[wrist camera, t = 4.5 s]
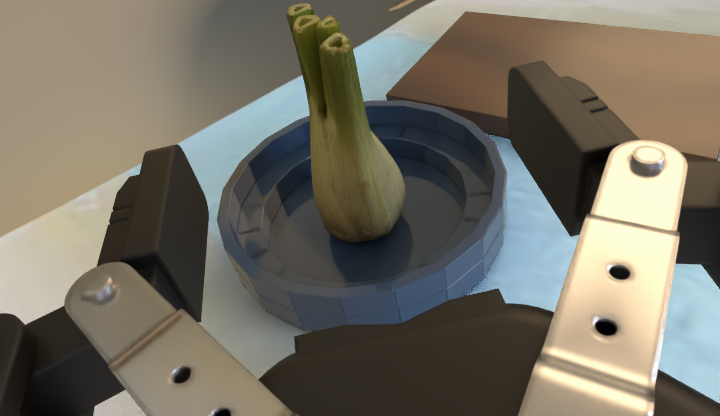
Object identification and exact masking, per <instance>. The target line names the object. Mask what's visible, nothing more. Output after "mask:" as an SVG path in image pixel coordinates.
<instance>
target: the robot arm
mask: <svg viewBox="0 0 720 416" xmlns="http://www.w3.org/2000/svg"><path fill="white" fill-rule="evenodd" d="M507 128H508V134H509V138H510V141H511V143H512V146H513V147H514V149H515V151H516V152H517V154H518V155H519V157H520V158H521V160H522V162H523V163H524V165H525V166H526V168H527V169H528V171H529V172H530V174H531V176H532V177H533V179H534V180H535V182H536V183H537V185H538V187H539V188H540V190H541V191H542V193H543V194H544V196H545V197H546V199H547V201H548V202H549V204H550V205H551V207H552V208H553V210H554V212H555V213H556V215H557V216H558V218H559V219H560V221H561V222H562V224H563V226H564V227H565V229H566V230H567V232H568V233H569V235H570V237H571V236H575V235H580V236H579V239H578V242H577V245H576V248H575V251H574V254H573V257H572V260H571V263H570V266H569V269H568V272H567V275H566V278H565V281H564V285H563V288H562V291H561V294H560V297H559V300H558V303H557V306H556V309H555V312H552V311H549V310H545V309H542V308H539V307H534V306H529V305H523V304H505V302H504V299H503V297H502V295H501V293H500V291H499V289H494V290H490V291H486V292H482V293H477V294H473V295H469V296H465V297H460V298H456V299H452V300H448V301H446V302H444V303H442V304H440V305H438V306H436V307H434V308H432V309H429V310H427V311H425V312H423V313H421V314H419V315H417V316H415V317H413V318H411V319H409V320H407V321H405V322H402V323H399V324H357V325H341V326H337V327H332V328H328V329H324V330H319V331H315V332H311V333H307V334H302V335H298V336H294V339H295V351H296V353H294V354H292V355H290V356H288V357H286V358H285V359H283V360H281V361H280V362H278V363H277V364H276V365H274V366H273V367H272V368H270V369H269V370H268V371H267V372H266V373H265V374H264V375H263V376H262V377H261V378H260V379H257V378H255V377H254V376H253V375H252V374H251V373H250V372H249V371H248V370H247V369H246V368H245V367H244V366H243V365H242V364H241V363H240V362H239V361H237V360H236V359H235V358H234V357H233V356H232V355H231V354H230V353H229V352H228V351H227V350H226V349H225V348H224V347H223V346H222V345H221V344H220V343H218V342H217V341H216V340H215V339H214V338H213V337H212V336H211V335H210V334H209V333H208V332H207V331H206V330H205V329H204V328H203V327H202V326H200V325H199V324H198V322H201V313H202V300H203V287H204V273H205V260H206V247H207V234H208V221H209V212H208V206H207V201H206V198H205V195H204V193H203V191H202V188H201V186H200V184H199V182H198V180H197V178H196V176H195V174H194V172H193V170H192V168H191V166H190V164H189V162H188V160H187V158H186V156H185V154H184V152H183V150H182V148H181V147H180V146H179V145H177V144H176V145H172V146H167V147H163V148H160V149H155V150H150V151H147V152H145V155H144V158H143V162H142V166H141V170H140V175H135V176H131V177H129V178H128V180H127V181H126V182H125V183H124V185H123V186H122V187H121V189H120V190H119V191H118V192H117V195H116V199H115V202H114V206H113V212H112V213H111V217H110V220H109V222H110V225H108V228H107V231H106V235H105V238H104V242H103V246H102V249H101V253H100V256H99V260H98V264H97V267H95V268H93V269H91V270H90V271H88V272H86V273H85V274H84V275H82V276H81V277H80V278H79V279H78V280H77V281H76V282H75V283H74V284H73V285H72V286H71V288H70V289H69V291H68V293H67V295H66V298H65V304H64V306H63V307H61V308H59V309H57V310H55V311H53V312H51V313H49V314H47V315H45V316H43V317H41V318H38V319H36V320H34V321H32V322H30V323H28V324H26V325H25V324H24V323H23V322H22V321H21V320H20V319H19V318H18V317H16V316H15V315H12V314H7V313H3V314H0V416H93V413H94V407H95V406H96V405H98V404H100V403H101V402H103V401H105V400H107V399H109V398H111V397H113V396H114V395H116V394H118V393H120V392H122V391H124V390H127V392H128V393H129V394H130V395H131V397H132V398H133V399H134V400H135V402H136V403H137V404H138V405H139V407H140V408H141V409H142V410H143V412H144V413H145V414H146V415H147V416H720V404H719V403H718V402H716V401H714V400H712V399H710V398H709V397H707V396H705V395H703V394H701V393H700V392H698V391H696V390H694V389H693V388H691V387H689V386H687V385H685V384H684V383H682V382H680V381H678V380H676V379H675V378H673V377H671V376H669V375H668V374H666V373H664V372H662V371H660V370H659V369H658V364H659V358H660V352H661V346H662V340H663V334H664V328H665V322H666V316H667V310H668V304H669V298H670V292H671V286H672V280H673V274H674V268H675V264H701V265H702V266H703V267H704V269H705V270H706V271H707V273H708V274H709V275H710V277H711V278H712V279H713V281H714V282H715V283H716V285H717V286H718V287H719V289H720V161H687V160H686V159H685V157H684V156H683V155H682V153H681V152H679V151H678V150H677V149H675V148H673V147H671V146H669V145H667V144H664V143H661V142H656V141H650V140H640V139H639V138H638V137H637V136H636V135H635V134H634V133H633V132H632V131H631V130H630V129H629V128H628V127H627V126H626V125H625V123H624V122H623V121H622V120H621V119H620V118H619V117H618V116H617V115H616V114H615V113H614V112H613V111H612V110H611V109H608V106H607V105H606V104H605V103H604V102H603V101H602V100H601V99H599V96H598V95H597V94H596V93H595V92H594V91H593V90H592V89H591V88H590V87H589V86H588V85H587V84H585V83H583V82H581V81H579V80H576V79H574V78H572V77H570V76H565V77H560V78H559V77H558V75H557V74H556V73H555V72H554V71H553V70H552V69H551V68H550V67H549V65H548V64H547V63H546V62H545V61H543V60H541V61H537V62H532V63H528V64H524V65H519V66H515V67H512V68H510V70H509V73H508V101H507Z"/></svg>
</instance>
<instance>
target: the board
mask: <svg viewBox="0 0 720 416" xmlns="http://www.w3.org/2000/svg"><path fill="white" fill-rule="evenodd" d="M541 60H543V61H545V62H546V63H547V64H548V65H549V67H550V68H551V69H552V70H553V71H554V72H555V73H556V74H557V75H558V77H559V78H560V77H565V76H570V77H572V78H574V79H576V80H579V81H581V82H583V83H585V84H587V85H588V86H589V87H590V88H591V89H592V90H593V91H594V92H595V93H596V94H597V95H598V96H599V99H601V100H602V101H603V102H604V103H605V104H606V105H607V106H608V109H611V110H612V111H613V112H614V113H615V114H616V115H617V116H618V117H619V118H620V119H621V120H622V121H623V122H624V123H625V125H626V126H627V127H628V128H629V129H630V130H631V131H632V132H633V133H634V134H635V135H636V136H637V137H638V138H639V139H640V140H650V141H656V142H661V143H664V144H667V145H669V146H671V147H673V148H675V149H677V150H678V151H679V152H681V153H682V155H683V156H684V157H685V159H686V160H687V161H717V160H718V156H719V153H720V37H719V36H709V35H699V34H689V33H679V32H669V31H658V30H648V29H638V28H628V27H618V26H608V25H598V24H588V23H578V22H567V21H557V20H547V19H537V18H527V17H517V16H507V15H497V14H487V13H476V12H465V13H464V14H463V15H462V16H461V17H460V18H459V19H458V20H457V21H456V22H455V23H454V24H453V25H452V26H451V27H450V28H449V29H448V30H447V32H446V33H445V34H444V35H443V36H442V37H441V38H440V39H439V40H438V41H437V42H436V43H435V44H434V45H433V46H432V47H431V48H430V49H429V50H428V51H427V52H426V53H425V54H424V55H423V56H422V58H421V59H420V60H419V61H418V62H417V63H416V64H415V65H414V66H413V67H412V68H411V69H410V70H409V71H408V72H407V73H406V74H405V75H404V76H403V77H402V78H401V79H400V80H399V81H398V82H397V84H396V85H395V86H394V87H393V88H392V89H391V90H390V91H389V92H388V93H387V94H386V98H387V101H412V102H417V103H422V104H427V105H432V106H437V107H442V108H444V109H446V110H449V111H451V112H453V113H455V114H457V115H459V116H461V117H464V118H466V119H468V120H470V121H472V122H473V123H475V124H476V125H477V126H478V127H479V128H480V129H481V130H482V131H483V132H484V133H489V134H493V135H498V136H503V137H507V138H509V134H508V128H507V101H508V73H509V70H510V68H512V67H515V66H519V65H524V64H528V63H532V62H537V61H541Z"/></svg>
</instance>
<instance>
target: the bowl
mask: <svg viewBox="0 0 720 416" xmlns="http://www.w3.org/2000/svg"><path fill="white" fill-rule="evenodd" d="M364 106H365V112H366V116H367V120H368V124H369V127H370V131H372V132H373V134H374V135H375V136H376V137H377V138H378V139H379V141H380V142H381V143H382V144H383V146H384V147H385V148H386V149H387V151H388V152H389V154H390V155H391V157H392V158H393V160H394V161H395V163H396V164H397V166H398V168H399V170H400V172H401V174H402V177H403V180H404V184H405V190H406V199H405V205H404V208H403V212H402V214H401V216H400V218H399V220H398V221H397V222H396V223H395V225H394V227H393V229H392V230H391V232H390V233H389V234H387V235H385V236H383V237H381V238H379V239H376V240H371V241H362V242H359V243H351V242H344V241H340V240H338V239H337V238H335V237H333V236H332V235H331V234H330V233H329V232H328V231H327V230H326V229H325V227H324V224H323V219H322V218H321V216H320V213H319V211H318V209H317V206H316V202H315V199H314V193H313V184H312V173H311V146H310V116H307V117H305V118H302V119H299V120H297V121H295V122H293V123H292V124H290V125H288V126H286V127H285V128H283V129H281V130H279V131H278V132H276V133H274V134H273V135H271V136H269V137H267V138H266V139H265V140H264V141H262V142H261V143H260V144H259V145H258V146H257V147H256V148H255V149H254V150H253V151H251V152H250V153H249V154H248V155H247V156H246V157H245V158H244V159H243V160H242V161H241V162H240V163H239V165H238V166H237V168H236V169H235V171H234V173H233V174H232V176H231V177H230V179H229V180H228V182H227V184H226V185H225V187H224V188H223V191H222V196H221V201H220V206H219V211H218V216H217V222H218V226H219V230H220V234H221V237H222V241H223V245H224V248H225V251H226V253H227V255H228V256H229V258H230V260H231V262H232V264H233V266H234V268H235V270H236V272H237V274H238V276H239V278H240V280H241V282H242V284H243V286H244V287H245V288H246V289H247V290H248V291H249V292H250V293H251V295H252V296H253V297H254V298H255V299H256V300H257V301H258V303H259V304H260V305H261V306H262V307H263V308H264V309H265V310H266V311H267V312H269V313H271V314H273V315H275V316H278V317H280V318H282V319H284V320H286V321H288V322H290V323H292V324H294V325H296V326H298V327H300V328H302V329H305V330H313V331H319V330H324V329H328V328H332V327H337V326H341V325H357V324H399V323H402V322H405V321H407V320H409V319H411V318H413V317H415V316H417V315H419V314H421V313H423V312H425V311H427V310H429V309H432V308H434V307H436V306H438V305H440V304H442V303H444V302H446V301H448V300H452V299H456V298H460V297H462V296H463V295H464V294H466V293H467V292H468V291H469V290H470V289H471V288H473V287H474V286H475V285H476V284H477V283H479V282H480V281H481V280H482V279H483V278H484V276H485V275H486V273H487V271H488V269H489V268H490V266H491V264H492V262H493V261H494V259H495V257H496V255H497V254H498V252H499V250H500V248H501V247H502V244H503V238H504V228H505V218H506V192H507V171H506V169H505V166H504V164H503V161H502V159H501V156H500V154H499V151H498V149H497V146H496V144H495V143H494V142H493V141H492V140H491V139H490V138H489V137H488V136H487V135H486V134H485V133H484V132H483V131H482V130H481V129H480V128H479V127H478V126H477V125H476V124H475V123H473V122H472V121H470V120H468V119H466V118H464V117H461V116H459V115H457V114H455V113H453V112H451V111H449V110H446V109H444V108H442V107H437V106H432V105H427V104H422V103H417V102H412V101H366V102H364Z"/></svg>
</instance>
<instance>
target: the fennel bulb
mask: <svg viewBox="0 0 720 416" xmlns="http://www.w3.org/2000/svg"><path fill="white" fill-rule="evenodd" d="M287 18H288V22H289V26H290V29H291V32H292V36H293V40H294V43H295V46H296V50H297V54H298V58H299V62H300V66H301V71H302V75H303V79H304V83H305V88H306V92H307V99H308V104H309V111H310V146H311V173H312V184H313V193H314V199H315V202H316V206H317V209H318V211H319V213H320V216H321V218H322V219H323V224H324V227H325V229H326V230H327V231H328V232H329V233H330V234H331V235H332V236H333V237H335V238H337V239H338V240H340V241H344V242H351V243H359V242H362V241H371V240H376V239H379V238H381V237H383V236H385V235H387V234H389V233H390V232H391V230H392V229H393V227H394V225H395V223H396V222H397V221H398V220H399V218H400V216H401V214H402V212H403V208H404V205H405V199H406V190H405V184H404V180H403V177H402V174H401V172H400V170H399V168H398V166H397V164H396V163H395V161H394V160H393V158H392V157H391V155H390V154H389V152H388V151H387V149H386V148H385V147H384V146H383V144H382V143H381V142H380V141H379V139H378V138H377V137H376V136H375V135H374V134H373V132H372V131H370V127H369V124H368V120H367V116H366V112H365V106H364V102H363V97H362V92H361V88H360V83H359V77H358V72H357V67H356V62H355V57H354V53H353V48H352V44H351V42H350V40H349V39H348V38H347V37H346V36H345V35H343V34H341V30H340V24H339V22H338V20H337V19H336V18H335V17H334V16H328V17H326V18H325V19H323V20H322V21H320V19H319V17H318V16H316V15H314V12H313V10H312V6H311V5H310V4H296V5H294V6H291V7H290V8H289V9H288V13H287Z"/></svg>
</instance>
